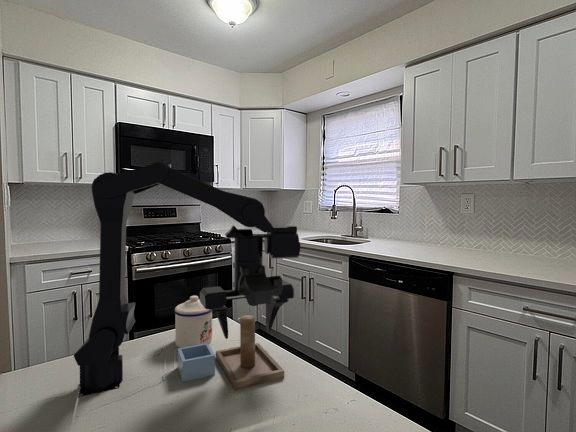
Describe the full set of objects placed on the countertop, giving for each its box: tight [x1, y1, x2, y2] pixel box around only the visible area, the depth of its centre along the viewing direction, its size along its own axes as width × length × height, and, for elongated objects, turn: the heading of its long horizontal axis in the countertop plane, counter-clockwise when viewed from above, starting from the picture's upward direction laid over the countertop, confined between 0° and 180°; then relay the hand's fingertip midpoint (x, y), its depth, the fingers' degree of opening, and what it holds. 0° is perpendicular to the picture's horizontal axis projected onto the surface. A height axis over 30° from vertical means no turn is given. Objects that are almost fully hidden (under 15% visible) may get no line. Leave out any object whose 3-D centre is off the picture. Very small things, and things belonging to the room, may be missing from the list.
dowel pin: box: [239, 314, 256, 369], centre depth 68 cm, size 3×3×10 cm
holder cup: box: [177, 343, 216, 383], centre depth 67 cm, size 6×6×4 cm
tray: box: [215, 342, 285, 391], centre depth 68 cm, size 10×14×2 cm
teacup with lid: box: [173, 295, 213, 348], centre depth 82 cm, size 12×9×12 cm
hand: (248, 334), depth 68 cm, fingers open, 9 cm apart
